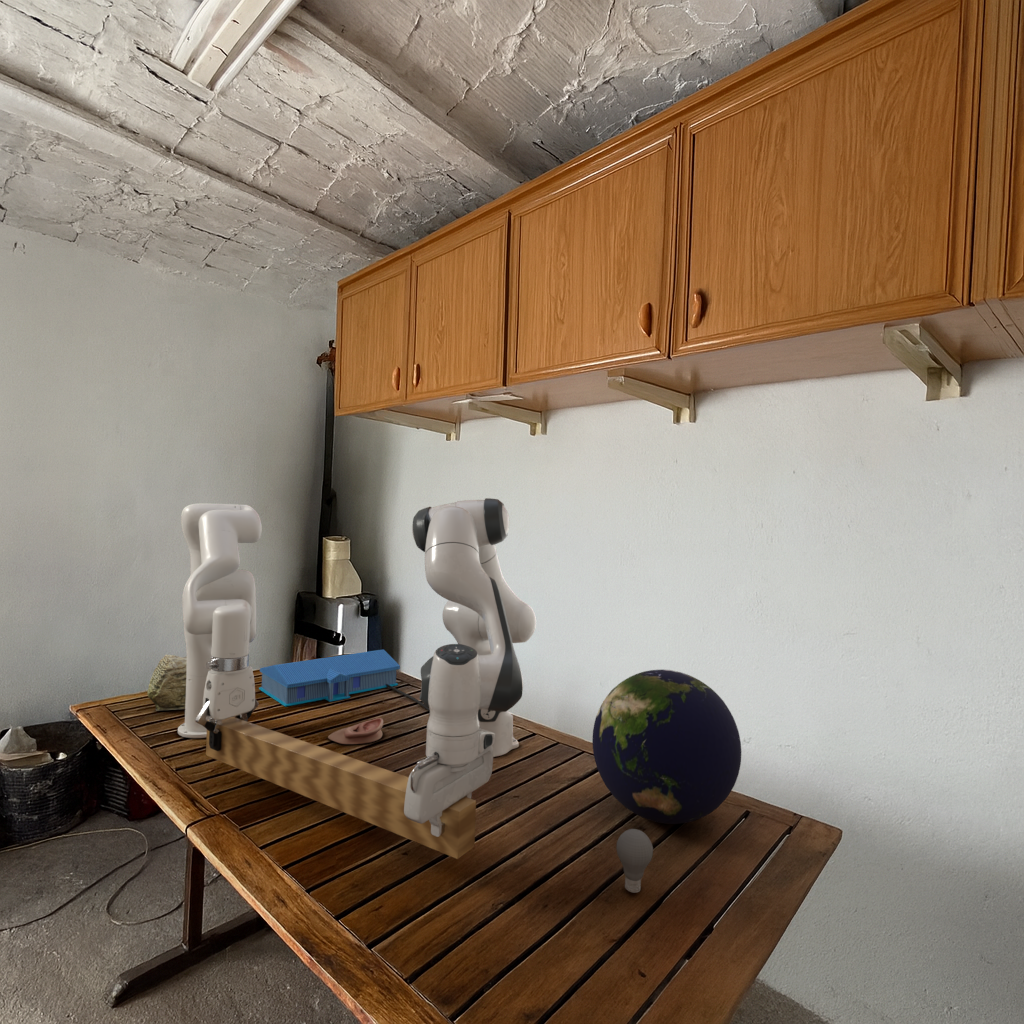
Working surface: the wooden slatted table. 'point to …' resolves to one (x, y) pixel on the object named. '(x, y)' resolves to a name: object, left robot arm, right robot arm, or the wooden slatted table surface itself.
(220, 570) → the left robot arm
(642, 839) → the light bulb
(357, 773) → the bar
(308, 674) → the model building
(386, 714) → the wooden slatted table surface
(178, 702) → the fossil
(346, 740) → the anatomical model
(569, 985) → the wooden slatted table surface
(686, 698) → the globe
